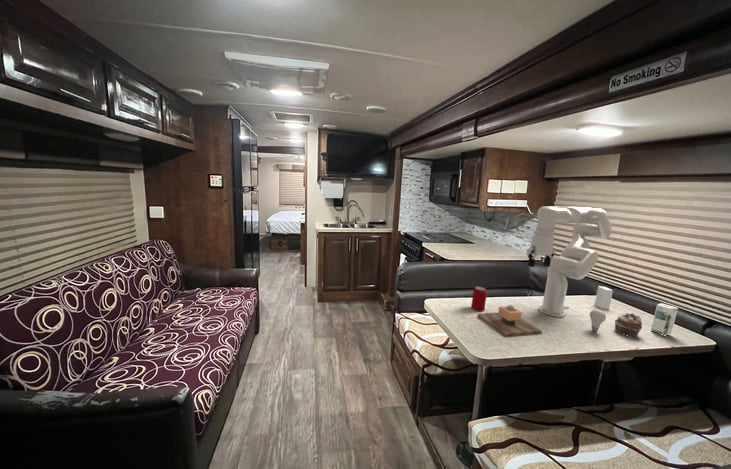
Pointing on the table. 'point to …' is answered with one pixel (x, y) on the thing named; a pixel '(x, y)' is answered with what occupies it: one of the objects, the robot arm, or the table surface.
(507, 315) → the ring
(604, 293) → the skincare box
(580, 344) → the table surface
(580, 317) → the table surface
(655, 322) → the syrup box
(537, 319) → the table surface
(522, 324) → the post stand
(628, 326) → the cupcake
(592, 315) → the lightbulb
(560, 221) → the robot arm
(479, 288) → the beverage can
